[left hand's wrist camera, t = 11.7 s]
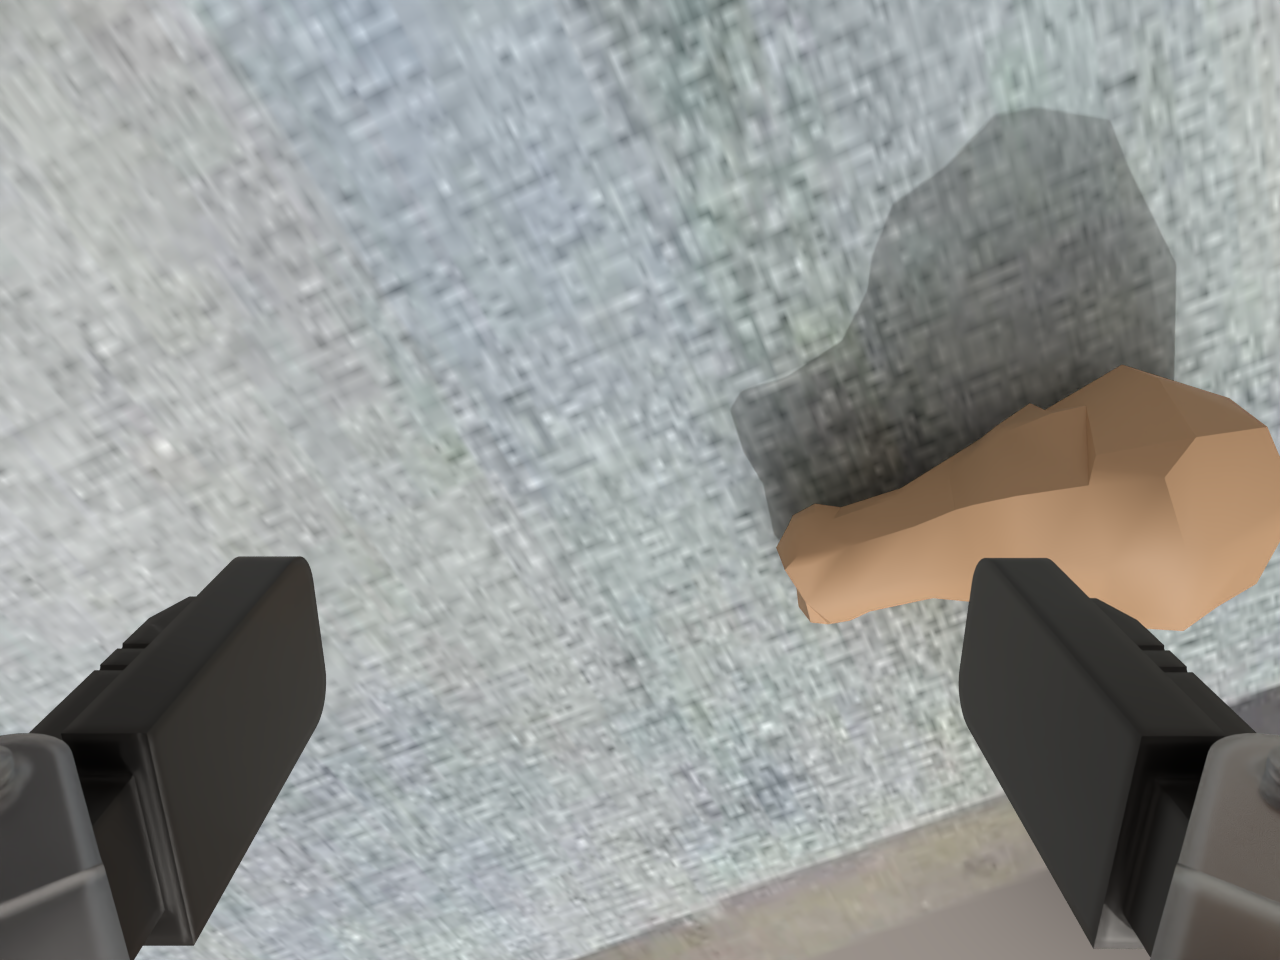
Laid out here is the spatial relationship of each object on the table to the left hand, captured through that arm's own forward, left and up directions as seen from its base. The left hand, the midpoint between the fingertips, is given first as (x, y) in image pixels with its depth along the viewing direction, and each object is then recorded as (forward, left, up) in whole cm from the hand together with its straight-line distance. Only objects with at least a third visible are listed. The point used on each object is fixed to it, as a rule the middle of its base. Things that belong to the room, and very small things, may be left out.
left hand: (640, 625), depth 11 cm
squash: (+16, -10, -30) cm, 35 cm away
